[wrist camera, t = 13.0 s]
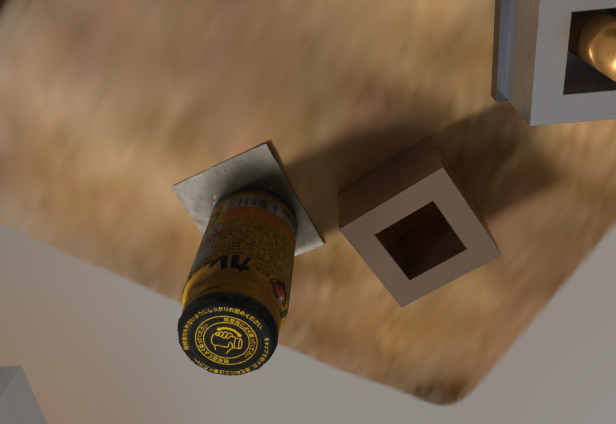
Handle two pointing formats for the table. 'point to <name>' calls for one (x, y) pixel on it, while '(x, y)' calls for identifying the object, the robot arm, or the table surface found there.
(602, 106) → the grey hollow block
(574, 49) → the keeper
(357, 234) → the link
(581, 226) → the table surface
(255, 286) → the condiment
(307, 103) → the table surface
